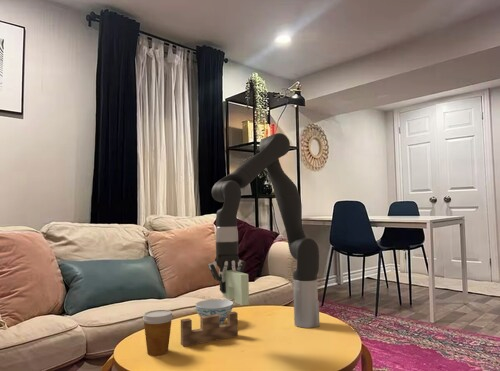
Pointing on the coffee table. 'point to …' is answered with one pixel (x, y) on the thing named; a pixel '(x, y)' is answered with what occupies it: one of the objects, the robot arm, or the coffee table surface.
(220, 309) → the chinaware
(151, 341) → the disposable coffee cup
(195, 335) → the rail
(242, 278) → the cross piece
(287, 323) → the coffee table surface
